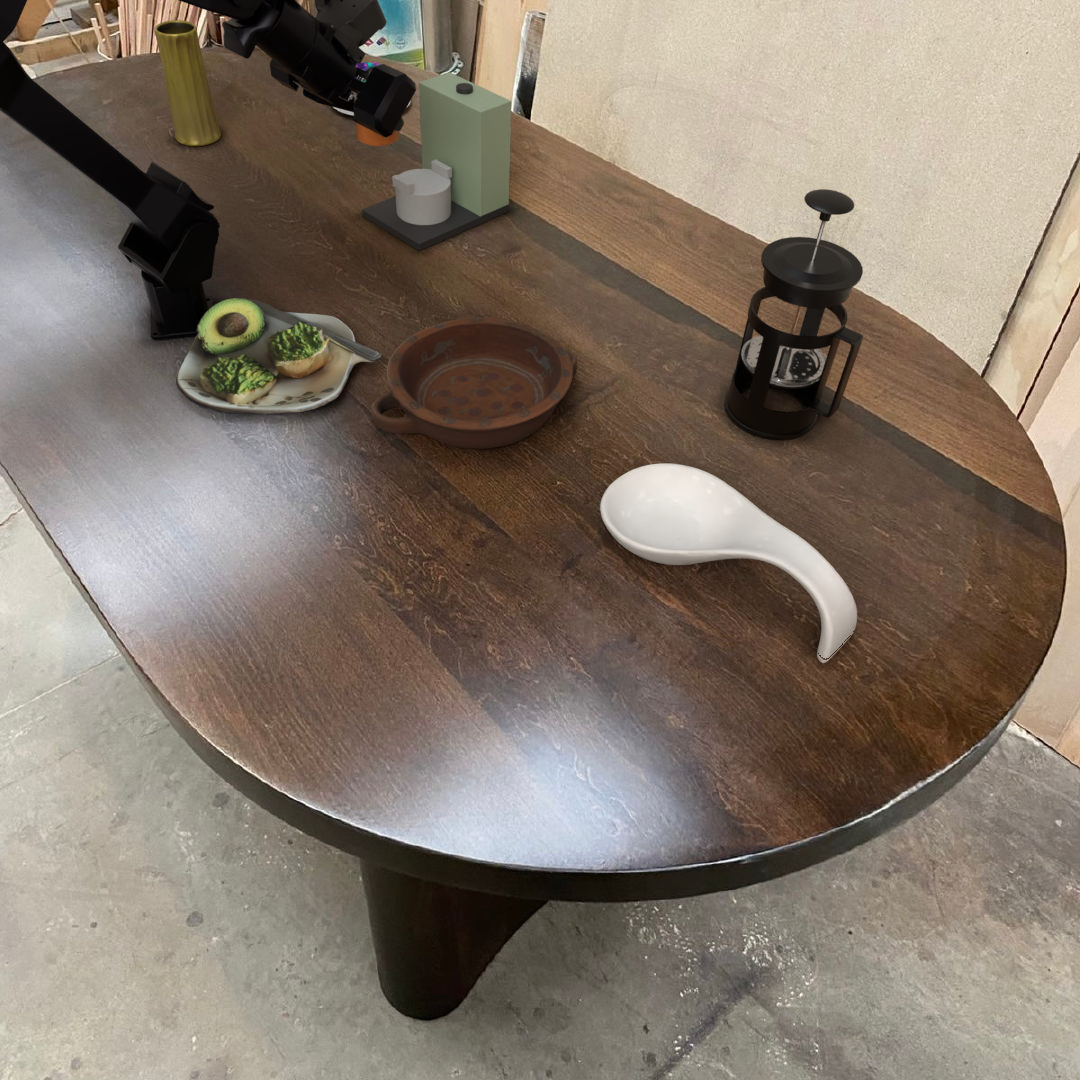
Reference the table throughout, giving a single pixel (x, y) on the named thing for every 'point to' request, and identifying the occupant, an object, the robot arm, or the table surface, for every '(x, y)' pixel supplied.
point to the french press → (794, 360)
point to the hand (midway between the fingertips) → (386, 119)
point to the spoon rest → (720, 536)
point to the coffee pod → (373, 134)
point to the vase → (187, 83)
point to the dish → (475, 382)
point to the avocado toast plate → (268, 359)
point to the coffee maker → (451, 165)
